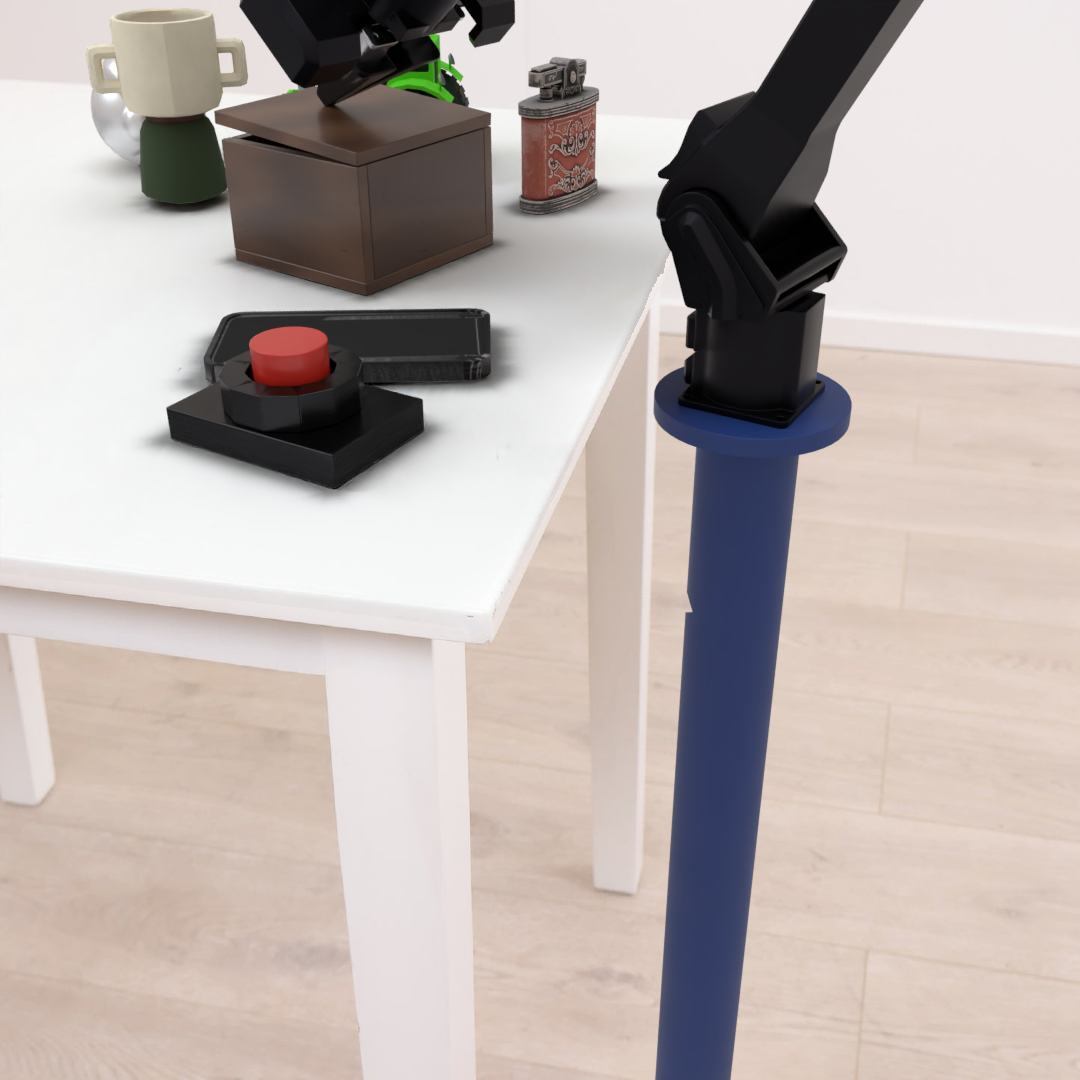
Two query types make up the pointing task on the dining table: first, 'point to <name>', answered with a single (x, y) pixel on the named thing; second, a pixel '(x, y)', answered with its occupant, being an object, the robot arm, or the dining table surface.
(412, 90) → the toy tractor
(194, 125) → the cream and green trophy
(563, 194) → the lighter
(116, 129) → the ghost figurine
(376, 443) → the button base
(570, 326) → the dining table surface
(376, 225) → the chest
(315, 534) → the dining table surface
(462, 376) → the phone
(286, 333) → the button
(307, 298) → the dining table surface
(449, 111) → the lid
